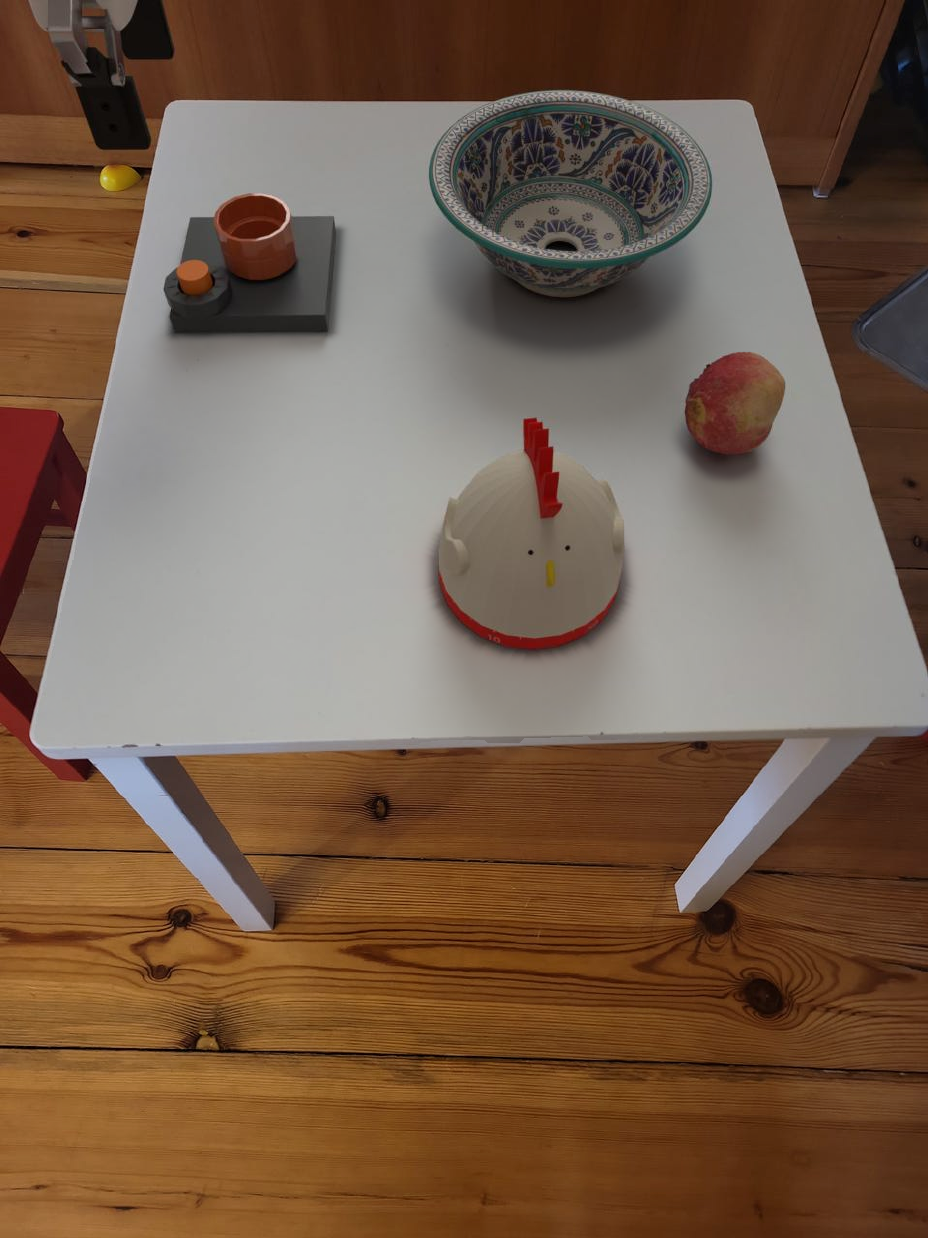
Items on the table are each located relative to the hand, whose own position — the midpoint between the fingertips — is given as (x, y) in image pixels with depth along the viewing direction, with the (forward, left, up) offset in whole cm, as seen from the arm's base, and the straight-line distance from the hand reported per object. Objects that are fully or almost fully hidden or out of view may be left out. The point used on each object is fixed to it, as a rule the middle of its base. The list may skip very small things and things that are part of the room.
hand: (138, 99), depth 56 cm
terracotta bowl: (+2, +16, -24) cm, 29 cm away
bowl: (+30, +18, -26) cm, 44 cm away
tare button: (-3, +11, -23) cm, 26 cm away
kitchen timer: (+25, -18, -26) cm, 41 cm away
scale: (+1, +15, -26) cm, 30 cm away
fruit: (+42, -5, -26) cm, 50 cm away
